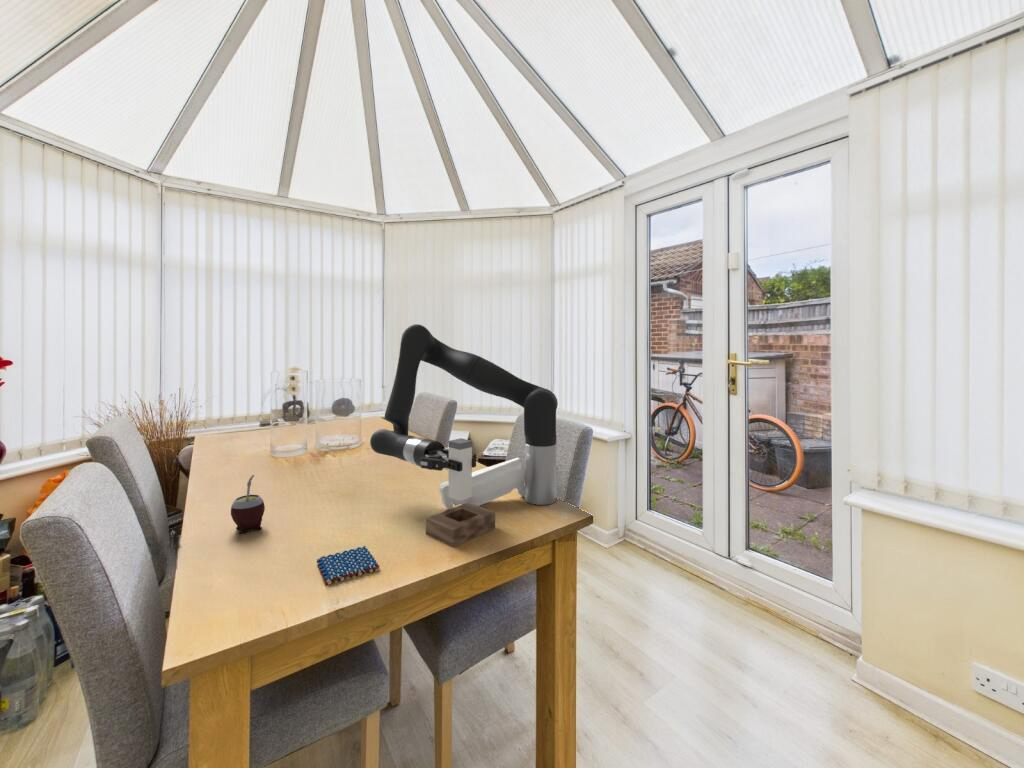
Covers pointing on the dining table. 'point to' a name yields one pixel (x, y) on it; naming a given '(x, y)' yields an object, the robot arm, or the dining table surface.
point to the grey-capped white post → (462, 480)
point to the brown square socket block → (460, 524)
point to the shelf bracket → (490, 484)
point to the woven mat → (346, 564)
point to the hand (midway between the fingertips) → (468, 465)
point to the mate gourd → (248, 511)
